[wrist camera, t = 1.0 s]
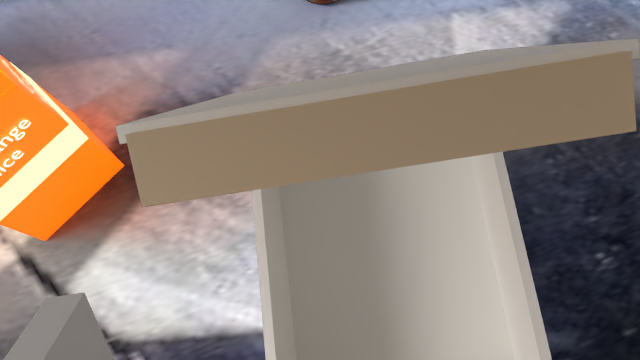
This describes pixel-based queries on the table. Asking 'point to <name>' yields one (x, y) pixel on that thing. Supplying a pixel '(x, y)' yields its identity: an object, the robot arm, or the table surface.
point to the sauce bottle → (321, 1)
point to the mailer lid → (384, 119)
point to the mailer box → (398, 266)
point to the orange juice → (44, 157)
